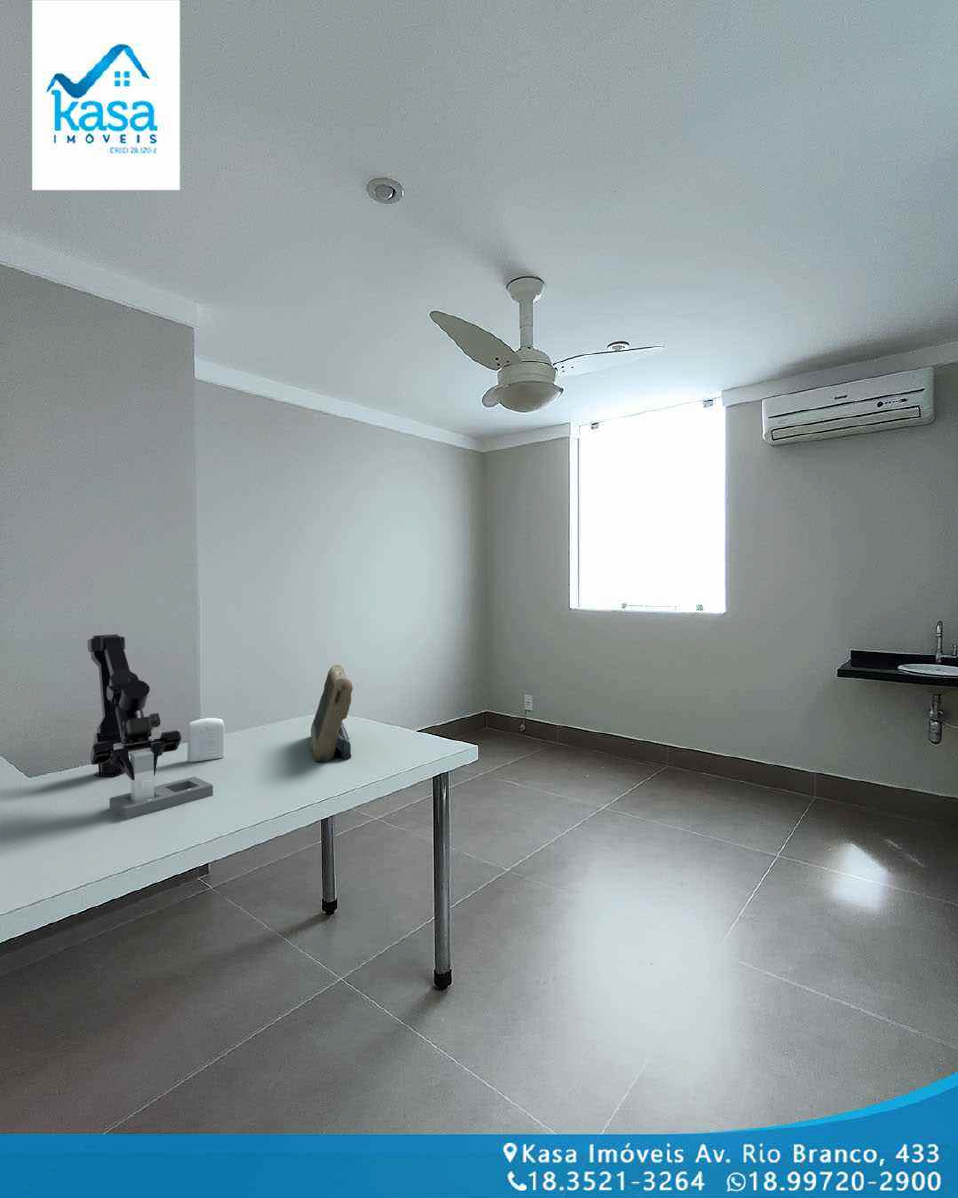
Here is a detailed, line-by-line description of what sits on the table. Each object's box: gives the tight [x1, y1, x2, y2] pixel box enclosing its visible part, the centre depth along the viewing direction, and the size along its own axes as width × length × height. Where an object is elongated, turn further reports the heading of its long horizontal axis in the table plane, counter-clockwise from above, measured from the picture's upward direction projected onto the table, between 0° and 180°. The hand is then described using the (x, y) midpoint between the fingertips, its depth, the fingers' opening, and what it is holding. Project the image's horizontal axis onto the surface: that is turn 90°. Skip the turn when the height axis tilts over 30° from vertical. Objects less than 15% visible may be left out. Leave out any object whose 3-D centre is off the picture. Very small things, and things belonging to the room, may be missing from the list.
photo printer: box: [187, 717, 225, 763], centre depth 178 cm, size 10×4×12 cm, turn 123°
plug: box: [129, 749, 155, 803], centre depth 140 cm, size 5×4×12 cm
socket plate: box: [108, 776, 214, 820], centre depth 144 cm, size 10×20×3 cm, turn 141°
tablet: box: [310, 664, 354, 763], centre depth 191 cm, size 33×14×25 cm, turn 23°
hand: (143, 777), depth 139 cm, fingers closed on plug, 4 cm apart
